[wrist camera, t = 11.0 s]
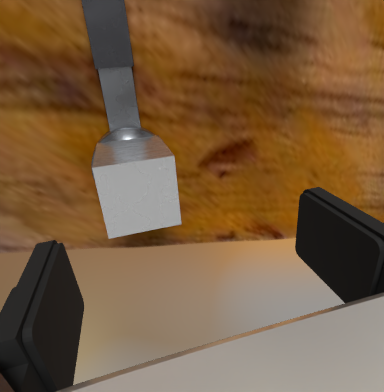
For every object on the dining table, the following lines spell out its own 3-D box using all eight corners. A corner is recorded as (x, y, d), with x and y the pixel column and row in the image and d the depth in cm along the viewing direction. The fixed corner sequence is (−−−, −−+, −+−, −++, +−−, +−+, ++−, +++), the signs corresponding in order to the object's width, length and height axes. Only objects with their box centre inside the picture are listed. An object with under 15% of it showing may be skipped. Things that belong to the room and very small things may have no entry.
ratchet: (144, -29, 24) (153, -58, 19) (169, 188, 33) (181, 209, 28) (47, -29, 23) (27, -61, 17) (101, 200, 31) (99, 225, 26)
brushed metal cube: (158, 135, 28) (174, 155, 21) (164, 189, 30) (181, 224, 23) (97, 143, 26) (91, 167, 19) (109, 199, 29) (108, 238, 22)
